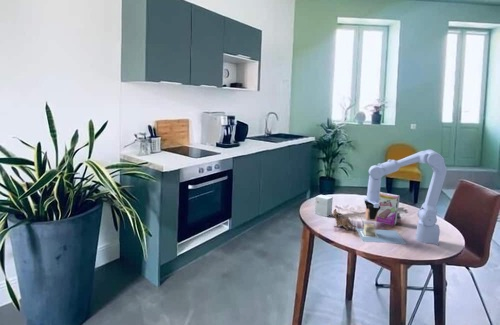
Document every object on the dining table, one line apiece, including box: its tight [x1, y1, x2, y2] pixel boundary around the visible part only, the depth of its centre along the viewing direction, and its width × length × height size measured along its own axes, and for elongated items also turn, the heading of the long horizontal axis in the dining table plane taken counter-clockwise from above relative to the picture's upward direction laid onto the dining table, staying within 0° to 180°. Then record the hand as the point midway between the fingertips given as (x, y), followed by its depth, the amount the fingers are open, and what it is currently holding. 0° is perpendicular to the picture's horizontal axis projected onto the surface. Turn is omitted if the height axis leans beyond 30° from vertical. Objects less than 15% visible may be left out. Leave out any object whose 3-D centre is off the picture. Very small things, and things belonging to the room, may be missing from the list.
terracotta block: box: [364, 208, 378, 222], centre depth 176 cm, size 4×4×4 cm
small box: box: [314, 194, 333, 218], centre depth 206 cm, size 8×6×10 cm
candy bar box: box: [375, 191, 401, 226], centre depth 194 cm, size 11×5×16 cm, turn 58°
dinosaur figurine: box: [332, 209, 357, 231], centre depth 185 cm, size 14×6×9 cm, turn 49°
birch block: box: [363, 223, 377, 236], centre depth 177 cm, size 4×4×4 cm
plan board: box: [355, 227, 407, 245], centre depth 177 cm, size 20×16×1 cm
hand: (370, 217), depth 176 cm, fingers closed on terracotta block, 4 cm apart
